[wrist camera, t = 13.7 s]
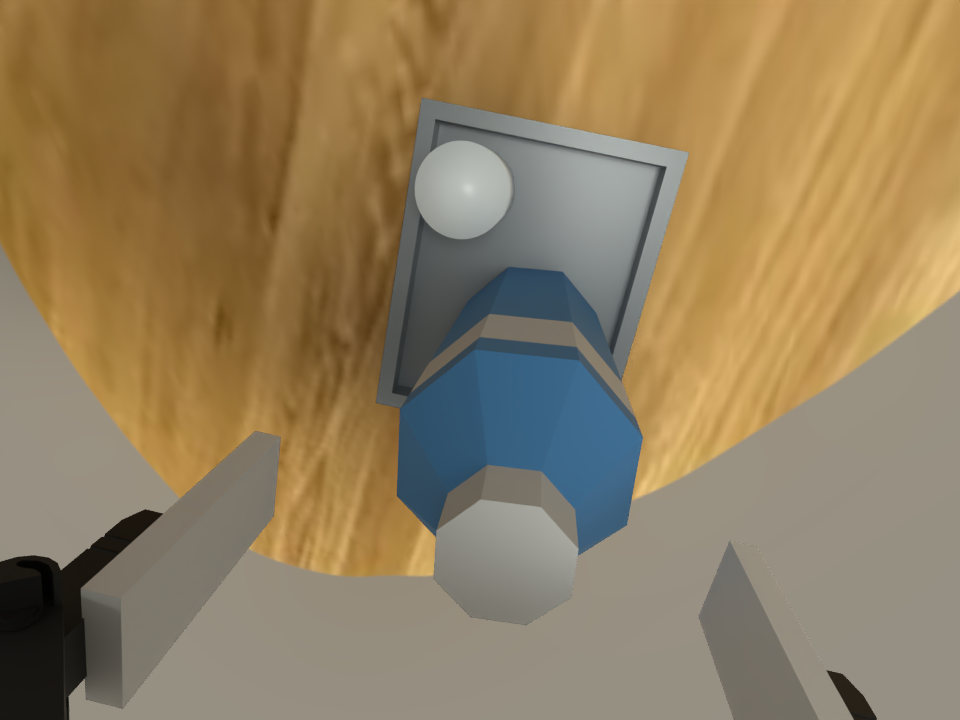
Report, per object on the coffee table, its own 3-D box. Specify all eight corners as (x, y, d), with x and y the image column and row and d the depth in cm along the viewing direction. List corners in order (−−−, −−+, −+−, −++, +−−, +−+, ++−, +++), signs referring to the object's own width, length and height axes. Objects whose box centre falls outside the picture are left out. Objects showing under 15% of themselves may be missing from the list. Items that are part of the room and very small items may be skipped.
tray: (385, 390, 43) (375, 402, 40) (430, 102, 36) (421, 97, 34) (596, 438, 42) (599, 453, 40) (679, 154, 36) (689, 152, 33)
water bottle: (443, 286, 39) (286, 454, 15) (577, 245, 37) (633, 362, 14) (485, 409, 41) (404, 718, 18) (613, 376, 40) (714, 670, 16)
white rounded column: (432, 219, 38) (407, 228, 31) (445, 139, 36) (422, 131, 30) (506, 235, 38) (497, 248, 31) (522, 156, 36) (517, 151, 29)
